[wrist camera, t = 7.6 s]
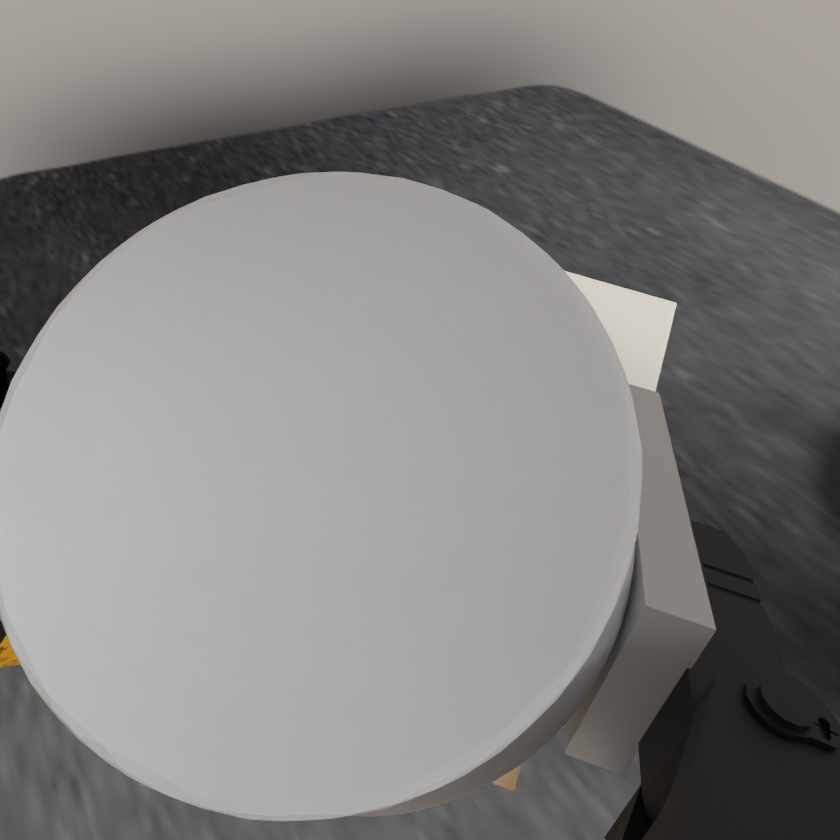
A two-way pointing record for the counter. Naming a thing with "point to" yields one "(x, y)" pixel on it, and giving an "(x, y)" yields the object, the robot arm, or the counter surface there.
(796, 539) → the counter surface
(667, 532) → the robot arm
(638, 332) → the plate
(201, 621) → the supplement bottle
